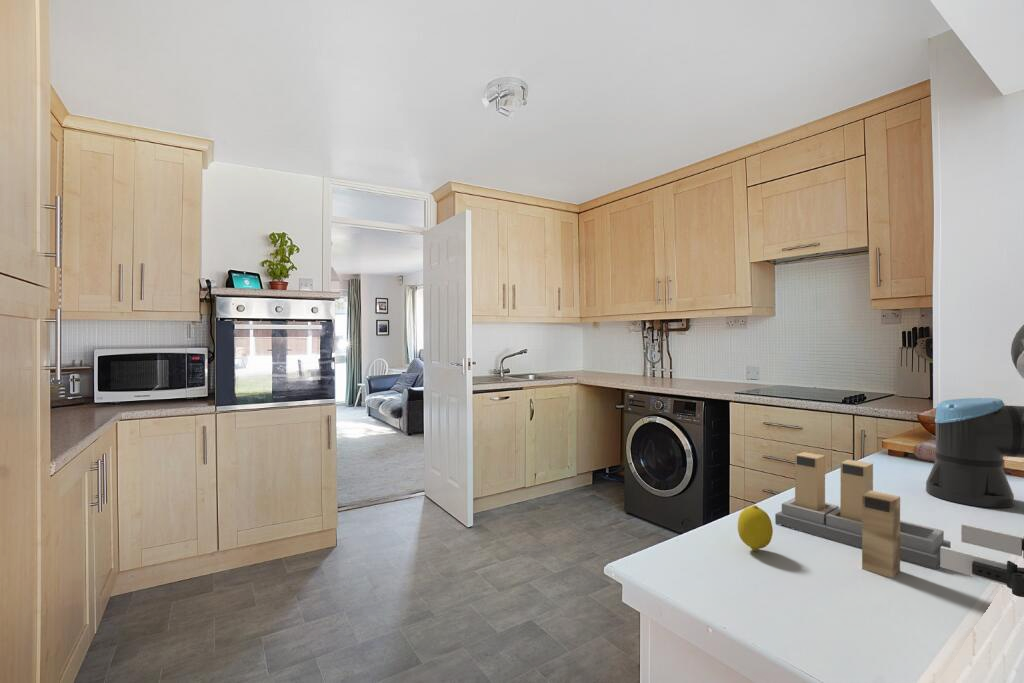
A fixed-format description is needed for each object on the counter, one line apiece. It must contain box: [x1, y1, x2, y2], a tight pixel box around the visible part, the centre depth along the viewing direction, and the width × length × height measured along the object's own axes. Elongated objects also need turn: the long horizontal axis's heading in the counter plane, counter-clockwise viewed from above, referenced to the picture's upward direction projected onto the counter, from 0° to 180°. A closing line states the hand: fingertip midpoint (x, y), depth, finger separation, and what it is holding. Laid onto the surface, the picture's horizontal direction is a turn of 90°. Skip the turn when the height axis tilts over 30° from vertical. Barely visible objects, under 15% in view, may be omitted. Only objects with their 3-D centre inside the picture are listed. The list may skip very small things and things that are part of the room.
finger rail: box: [774, 451, 952, 571], centre depth 92 cm, size 10×25×14 cm, turn 38°
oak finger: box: [861, 490, 901, 579], centre depth 79 cm, size 4×4×12 cm
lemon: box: [737, 504, 774, 552], centre depth 86 cm, size 6×6×8 cm
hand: (951, 543), depth 72 cm, fingers open, 13 cm apart
